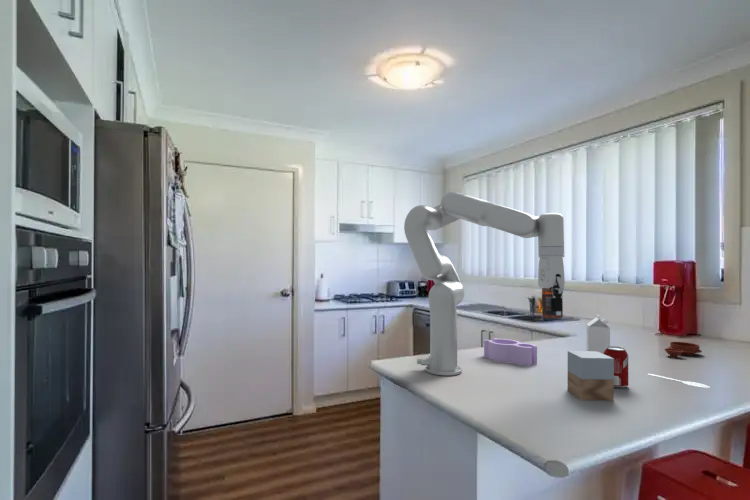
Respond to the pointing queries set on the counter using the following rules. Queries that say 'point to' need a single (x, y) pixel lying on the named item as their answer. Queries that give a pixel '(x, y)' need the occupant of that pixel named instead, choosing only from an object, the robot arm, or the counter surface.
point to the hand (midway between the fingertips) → (552, 309)
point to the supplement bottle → (549, 305)
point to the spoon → (683, 381)
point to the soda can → (619, 365)
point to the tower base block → (591, 388)
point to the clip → (510, 351)
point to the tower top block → (591, 365)
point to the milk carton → (598, 335)
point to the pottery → (682, 349)
